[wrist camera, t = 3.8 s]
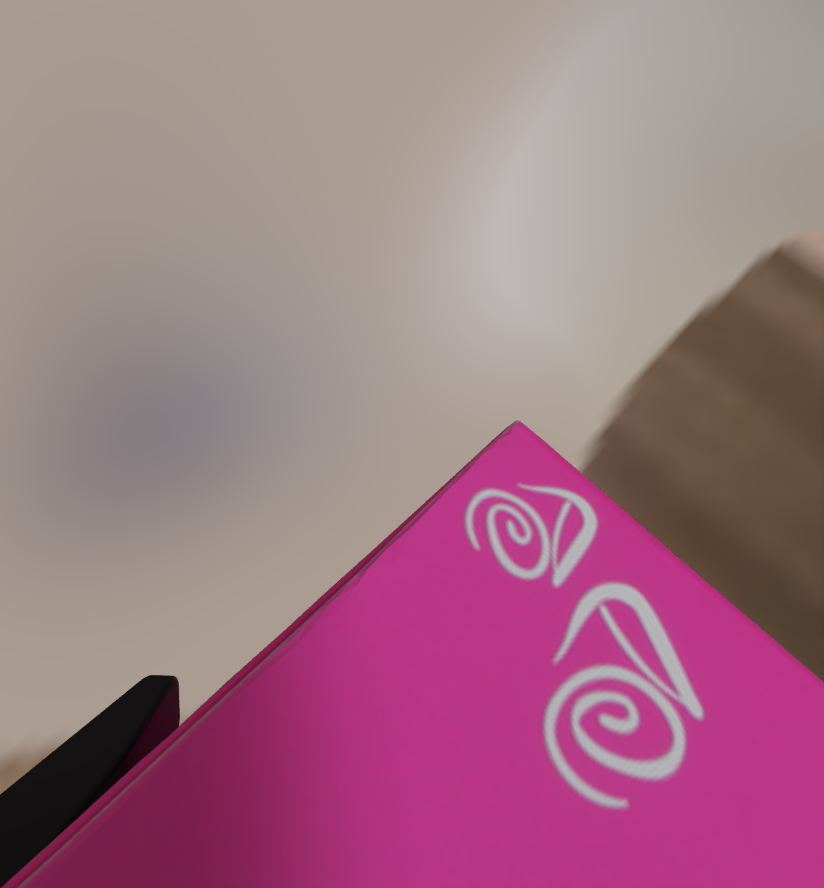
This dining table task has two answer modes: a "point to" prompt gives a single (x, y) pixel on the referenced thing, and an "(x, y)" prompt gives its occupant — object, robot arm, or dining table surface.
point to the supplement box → (485, 721)
